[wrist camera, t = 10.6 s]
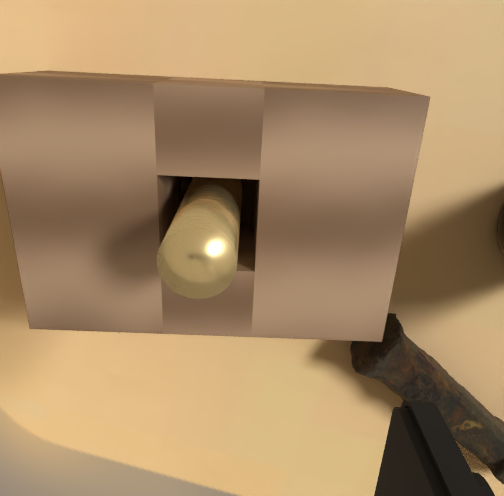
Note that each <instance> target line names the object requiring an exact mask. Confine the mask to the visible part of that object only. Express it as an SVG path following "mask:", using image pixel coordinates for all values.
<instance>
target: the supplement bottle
mask: <svg viewBox="0 0 504 496" xmlns="http://www.w3.org/2000/svg"><path fill="white" fill-rule="evenodd" d="M497 236H498V243H499V246H500V249H501V251H502V253H503V255H504V208H503V210H502V213H501V215H500V218H499V222H498V229H497Z"/></svg>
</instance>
